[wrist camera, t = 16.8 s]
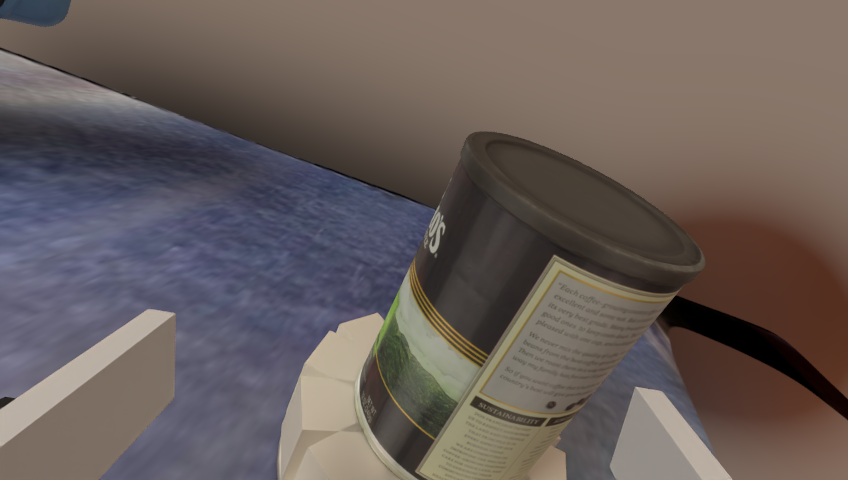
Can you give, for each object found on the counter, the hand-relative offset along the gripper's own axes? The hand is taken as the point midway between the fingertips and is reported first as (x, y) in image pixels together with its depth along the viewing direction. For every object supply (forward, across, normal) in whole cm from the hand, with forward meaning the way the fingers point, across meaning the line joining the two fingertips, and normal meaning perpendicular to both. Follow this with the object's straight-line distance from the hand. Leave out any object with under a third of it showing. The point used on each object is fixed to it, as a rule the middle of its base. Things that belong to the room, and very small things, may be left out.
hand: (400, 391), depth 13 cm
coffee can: (+10, +3, -8) cm, 13 cm away
